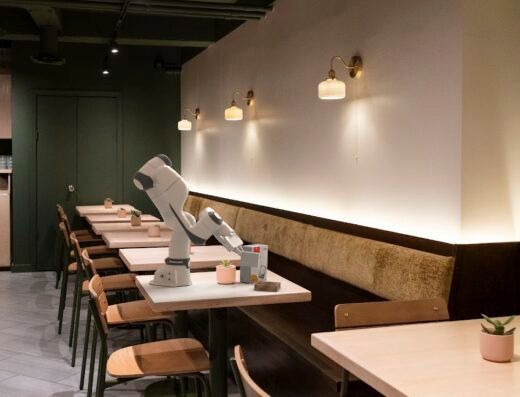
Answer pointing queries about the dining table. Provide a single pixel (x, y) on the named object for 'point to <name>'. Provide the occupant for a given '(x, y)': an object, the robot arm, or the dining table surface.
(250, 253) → the gray rectangular block
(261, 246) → the hard drive box
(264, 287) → the walnut box
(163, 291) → the dining table surface
